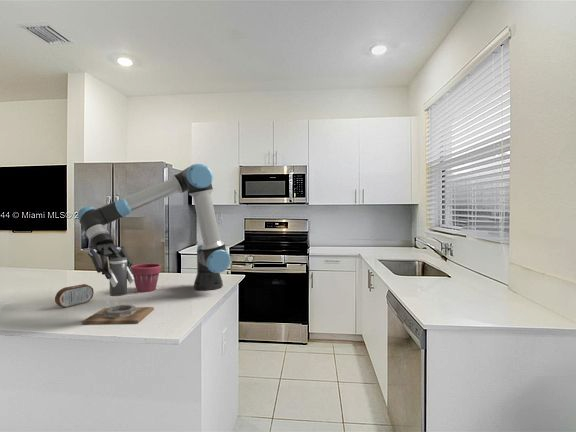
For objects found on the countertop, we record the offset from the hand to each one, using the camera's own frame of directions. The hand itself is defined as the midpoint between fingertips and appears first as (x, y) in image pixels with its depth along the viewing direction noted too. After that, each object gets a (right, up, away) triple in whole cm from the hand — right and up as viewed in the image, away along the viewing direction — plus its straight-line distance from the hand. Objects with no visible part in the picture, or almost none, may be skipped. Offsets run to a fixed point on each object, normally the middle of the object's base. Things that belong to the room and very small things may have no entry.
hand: (123, 282), depth 123 cm
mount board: (-3, -14, +2) cm, 14 cm away
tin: (-30, -14, +18) cm, 38 cm away
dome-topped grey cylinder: (-3, -5, +2) cm, 6 cm away
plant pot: (-11, -13, +44) cm, 47 cm away
